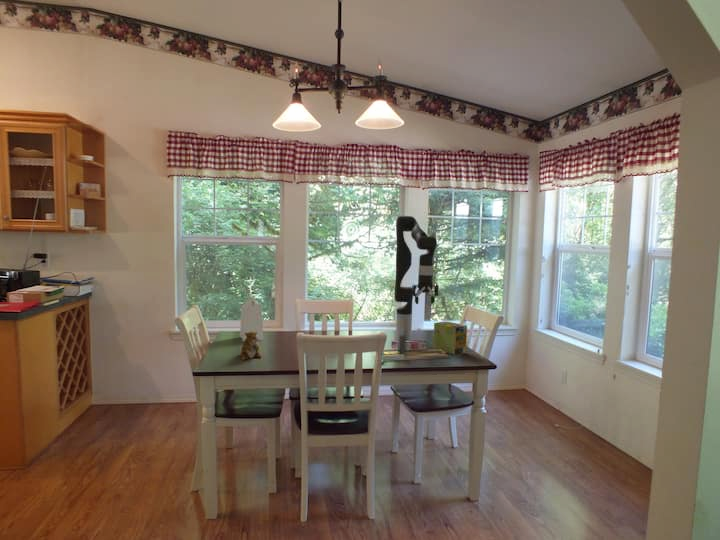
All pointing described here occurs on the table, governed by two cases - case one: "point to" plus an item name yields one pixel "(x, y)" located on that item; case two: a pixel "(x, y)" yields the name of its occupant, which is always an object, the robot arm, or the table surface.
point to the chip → (395, 352)
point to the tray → (392, 356)
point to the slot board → (425, 354)
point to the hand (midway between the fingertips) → (424, 303)
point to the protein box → (450, 337)
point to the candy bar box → (411, 345)
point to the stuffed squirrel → (250, 346)
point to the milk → (251, 319)
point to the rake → (401, 344)
